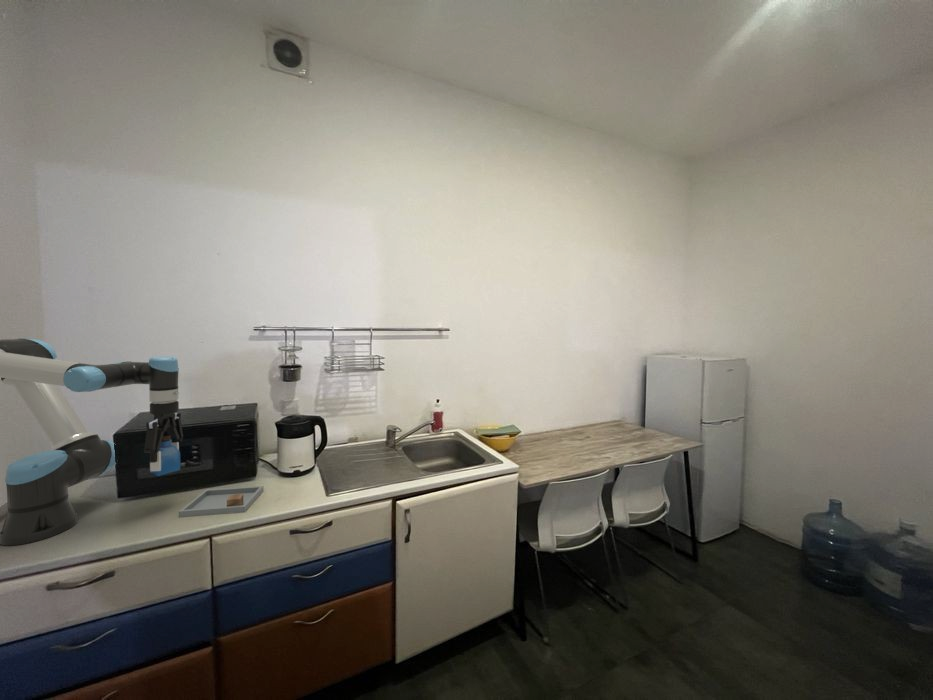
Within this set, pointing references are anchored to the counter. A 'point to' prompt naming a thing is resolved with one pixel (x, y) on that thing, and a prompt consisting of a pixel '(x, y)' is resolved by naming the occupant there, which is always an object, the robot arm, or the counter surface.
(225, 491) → the tray
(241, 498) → the walnut block
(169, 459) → the perfume bottle
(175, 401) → the robot arm
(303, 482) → the counter surface
